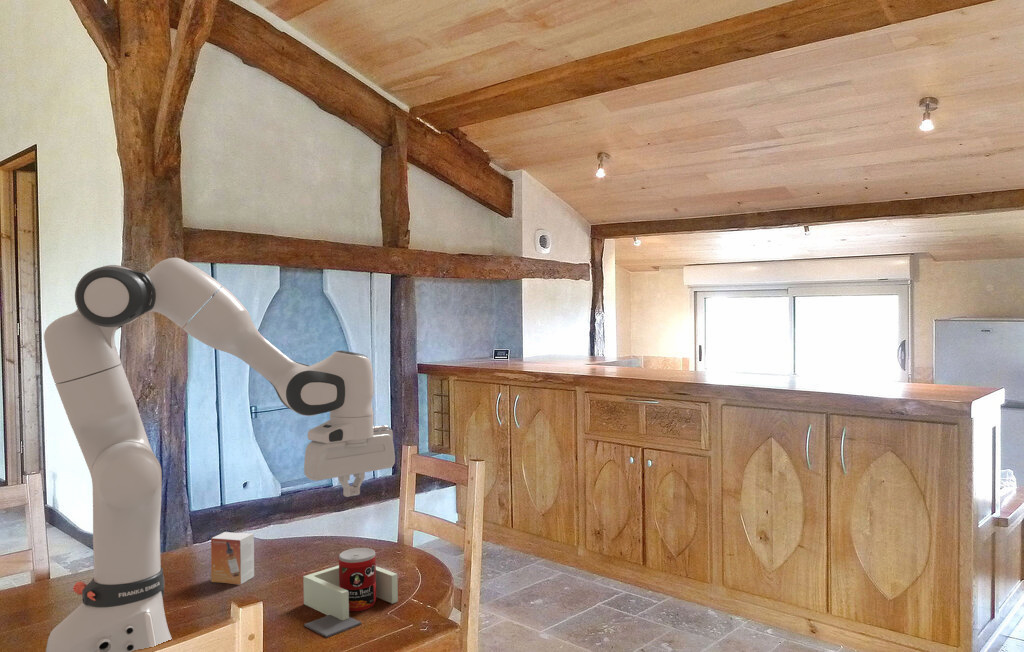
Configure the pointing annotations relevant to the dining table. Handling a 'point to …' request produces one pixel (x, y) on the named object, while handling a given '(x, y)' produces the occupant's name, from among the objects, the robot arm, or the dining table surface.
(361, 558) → the canned food
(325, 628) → the mat
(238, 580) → the small box
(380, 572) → the dock
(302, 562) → the dining table surface
